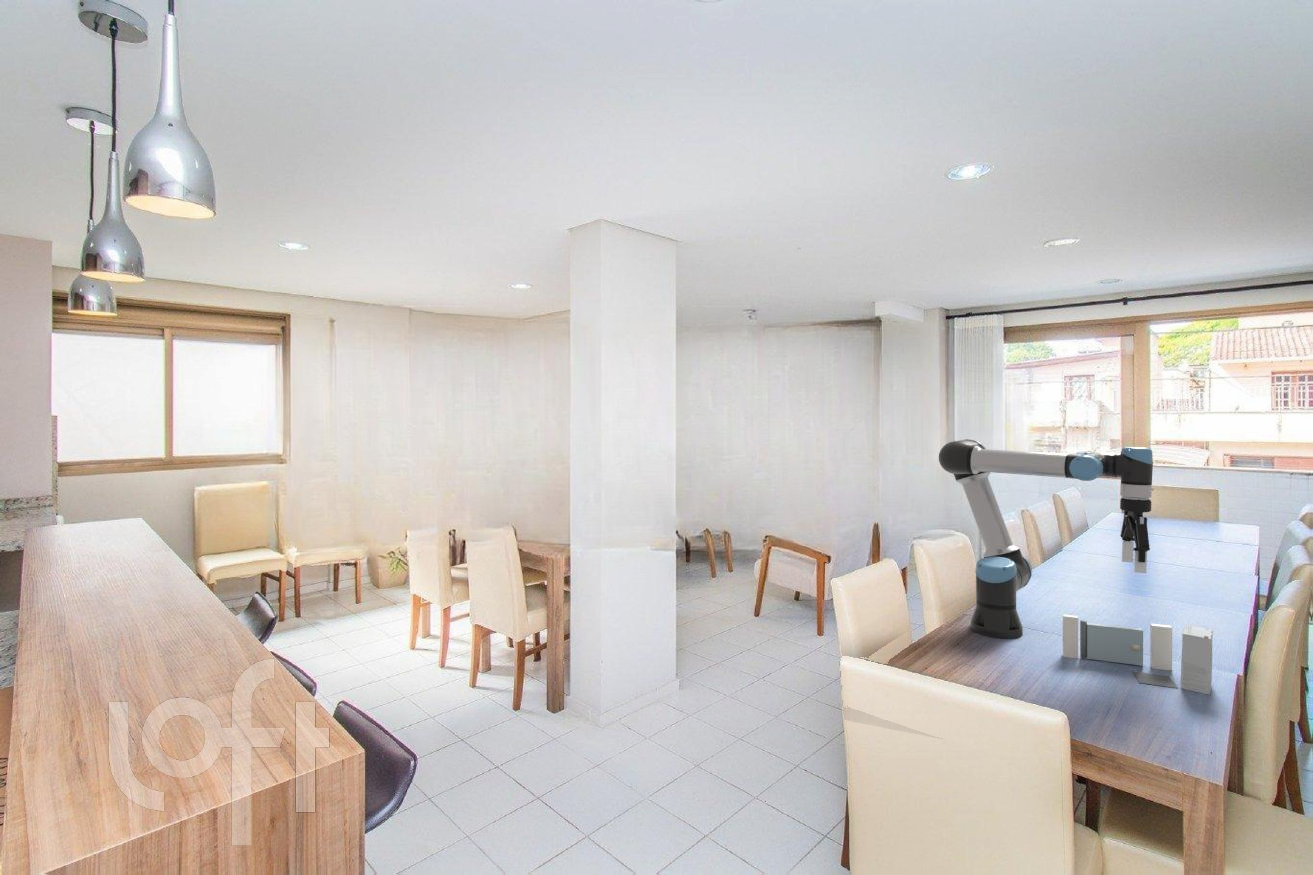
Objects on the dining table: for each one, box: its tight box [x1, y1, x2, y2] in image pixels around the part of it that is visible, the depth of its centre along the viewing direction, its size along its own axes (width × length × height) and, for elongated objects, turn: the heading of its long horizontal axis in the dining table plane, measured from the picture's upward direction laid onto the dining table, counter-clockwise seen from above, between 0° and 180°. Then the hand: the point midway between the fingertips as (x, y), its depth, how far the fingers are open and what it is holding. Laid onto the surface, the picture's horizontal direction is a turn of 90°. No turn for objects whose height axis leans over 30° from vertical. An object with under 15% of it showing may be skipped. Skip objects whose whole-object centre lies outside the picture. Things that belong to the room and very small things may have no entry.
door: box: [1079, 620, 1144, 667], centre depth 178 cm, size 15×3×11 cm, turn 63°
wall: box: [1062, 614, 1173, 672], centre depth 179 cm, size 25×2×12 cm, turn 63°
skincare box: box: [1180, 624, 1214, 696], centre depth 162 cm, size 8×6×15 cm
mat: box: [1132, 670, 1179, 689], centre depth 167 cm, size 8×8×1 cm
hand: (1133, 567), depth 190 cm, fingers open, 13 cm apart
